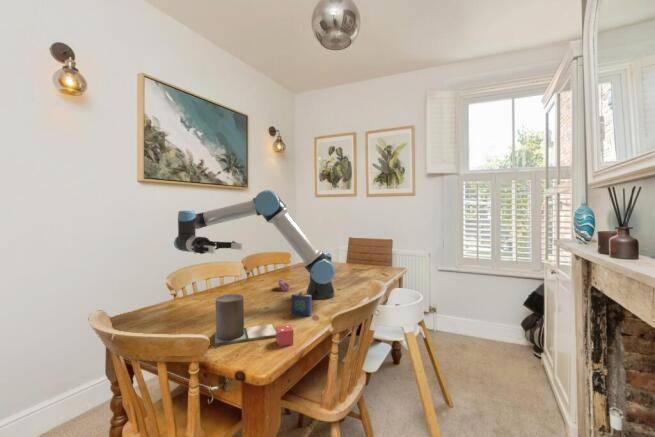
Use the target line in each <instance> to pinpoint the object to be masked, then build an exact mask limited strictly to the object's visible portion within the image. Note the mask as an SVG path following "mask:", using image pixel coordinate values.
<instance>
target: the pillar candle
mask: <svg viewBox="0 0 655 437" xmlns="http://www.w3.org/2000/svg"><path fill="white" fill-rule="evenodd" d="M244 307H245V305H244V295H242V294H240V293H228V294H224V295H223V294H222V295H220V296H218V297H216V298H215V328H216V329H215V332H216V337H217V338H218V339H220V340H232V339H237V338H239V337H242V336H243V335H244V328H245V322H244V321H245V318H244V317H245V316H244V315H245V314H244V312H245V311H244Z"/></svg>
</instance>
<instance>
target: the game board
mask: <svg viewBox="0 0 655 437" xmlns="http://www.w3.org/2000/svg"><path fill="white" fill-rule="evenodd" d="M275 338H276V327H275V325H274V324H272V323H271V324H262V325H254V326H248V327H244V335H243V336H242V337H239V338H237V339H232V340H220V339H218V338H217V337H216V331H214V332H213V346H214V347H218V346H224V345H231V344H233V345H234V344H238V343H239V344H240V343H245V342H246V343H247V342H252V341H258V340H267V339H275Z"/></svg>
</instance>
